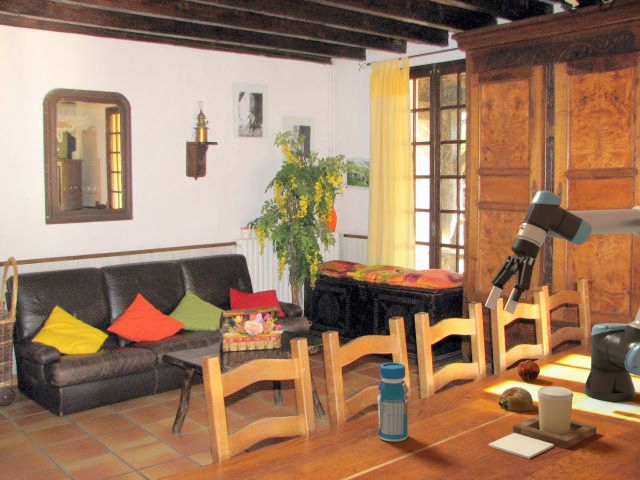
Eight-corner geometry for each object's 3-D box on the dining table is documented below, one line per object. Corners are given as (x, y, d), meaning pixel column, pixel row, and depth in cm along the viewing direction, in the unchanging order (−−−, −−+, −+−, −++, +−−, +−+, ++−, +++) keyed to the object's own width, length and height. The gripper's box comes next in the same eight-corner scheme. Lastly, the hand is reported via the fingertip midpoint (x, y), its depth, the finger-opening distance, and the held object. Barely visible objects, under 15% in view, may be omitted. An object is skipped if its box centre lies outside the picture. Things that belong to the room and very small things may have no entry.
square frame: (544, 419, 214) (544, 412, 214) (596, 433, 202) (596, 426, 202) (513, 433, 203) (513, 426, 203) (566, 448, 191) (566, 441, 191)
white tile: (514, 434, 202) (514, 432, 202) (553, 446, 193) (553, 444, 193) (488, 446, 194) (488, 443, 194) (528, 459, 185) (528, 456, 185)
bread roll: (527, 424, 220) (540, 401, 219) (496, 408, 222) (508, 385, 220) (525, 414, 230) (537, 392, 229) (495, 398, 231) (506, 376, 230)
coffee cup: (572, 429, 206) (573, 387, 204) (572, 441, 197) (573, 397, 196) (537, 425, 209) (538, 384, 207) (536, 437, 200) (536, 394, 199)
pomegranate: (540, 389, 251) (542, 366, 257) (537, 376, 246) (538, 352, 253) (518, 389, 254) (520, 366, 261) (514, 376, 249) (516, 353, 256)
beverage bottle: (388, 444, 196) (388, 371, 194) (371, 434, 203) (371, 363, 201) (414, 439, 199) (414, 366, 198) (397, 429, 207) (397, 359, 205)
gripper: (499, 237, 222) (470, 301, 221) (537, 236, 198) (505, 308, 196) (520, 247, 223) (492, 311, 222) (560, 248, 199) (529, 319, 197)
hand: (498, 310), depth 209 cm, fingers open, 13 cm apart
